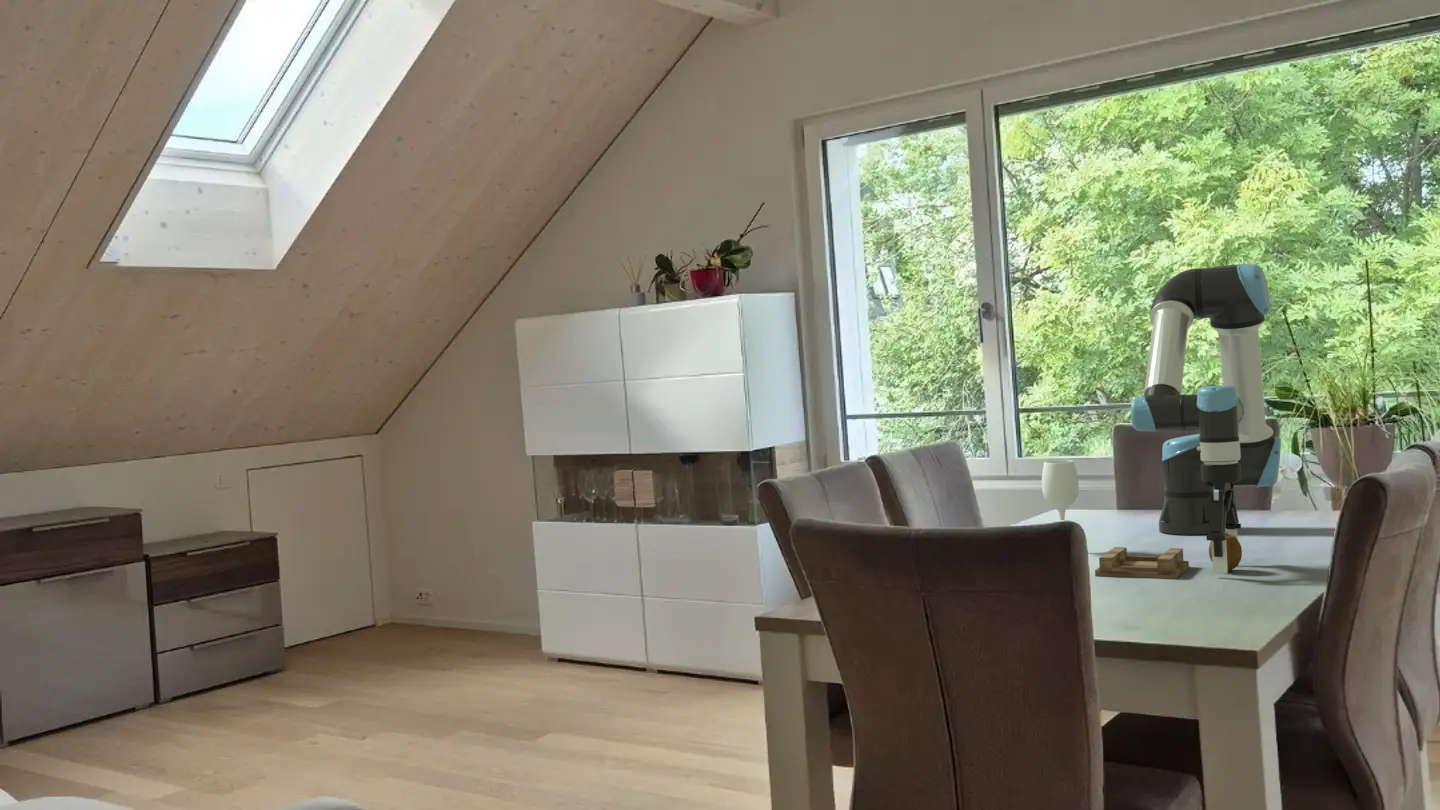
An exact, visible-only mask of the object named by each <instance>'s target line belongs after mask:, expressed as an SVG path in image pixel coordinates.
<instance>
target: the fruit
mask: <svg viewBox="0 0 1440 810" xmlns="http://www.w3.org/2000/svg"><path fill="white" fill-rule="evenodd" d="M1238 539H1239V538H1238ZM1238 539H1237V538H1236V537H1235V536H1233V535H1228V534H1227V533H1226V532H1225V539H1224V540H1226V547H1227V565H1228V573H1229V572H1231V571H1232V570H1235V569H1236V568H1237V567H1239V565H1240V563H1241V561H1242V556H1243V550H1242V545H1241V543H1240V541H1239V540H1238ZM1208 556H1209V559H1210V561H1211V562H1212V550H1211V542H1209V547H1208Z"/></svg>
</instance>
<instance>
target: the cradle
mask: <svg viewBox="0 0 1440 810" xmlns="http://www.w3.org/2000/svg"><path fill="white" fill-rule="evenodd" d="M1127 551H1128V549H1127V547H1123V546H1122V547H1121V546H1119V547H1116V546H1114V547H1112V548H1111V549H1110V550H1109V551H1107V552H1105V553H1104V554H1103V555H1101V556H1099V558H1098V559H1099V561H1098V562H1099V563H1098V564H1099V567H1097V568H1096V569H1094V573H1095V574H1094V575H1095V577H1113V578H1115V577H1117V578H1118V577H1119V578H1122V577H1123V578H1143V577H1144V578H1147V579H1149V578H1150V579H1178V578H1179V576H1180V575H1182V574H1183V572H1185V571H1186V570H1187V569H1188V568H1189V567H1190V563H1189V560H1184V548H1180V547H1179V548H1177V547H1175V548H1173V547H1171V548H1168V550H1166V551H1165V552H1164V553H1163V554H1161V555H1160V556H1155V555H1154V556H1153V555H1151V556H1148V555H1147V556H1146V555H1128V552H1127Z"/></svg>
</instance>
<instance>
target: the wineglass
mask: <svg viewBox="0 0 1440 810" xmlns="http://www.w3.org/2000/svg"><path fill="white" fill-rule="evenodd" d="M1079 483H1080V482H1079V476H1078V470H1077V468H1076V464H1075V461H1074V460H1071V459H1055V460H1046V461H1044V462H1043V467H1042V473H1041V490H1042V495H1043V497H1044V500H1045V501H1046V502H1047V503H1048V504H1049V506H1051V507H1053V508H1055V509H1056V510H1057V511H1058V514H1059V521H1060V520H1065V516H1066V510H1067V509H1068V508H1069V507H1071V506H1072V505H1073V504H1074V503H1075V502H1076V500H1077V498H1078V496H1079V490H1080V489H1079V488H1080V487H1079V485H1080V484H1079Z"/></svg>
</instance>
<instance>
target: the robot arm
mask: <svg viewBox="0 0 1440 810" xmlns="http://www.w3.org/2000/svg"><path fill="white" fill-rule="evenodd" d="M1271 307H1272V304H1271V297H1270V291H1269V285H1268V282H1267V278H1266V274H1265V272H1264V270H1263V268H1262V266H1260V265H1259V264H1255V263H1252V264H1250V263H1248V264H1242V263H1236V264H1229V265H1221V266H1211V267H1203V268H1202V267H1201V268H1198V267H1196V268H1190V269H1186V270H1183V271H1181V272H1179V273H1177V274H1176V275H1174V276H1173V277H1171V278H1170V279H1168V280H1167V282H1165V284H1163V286H1161V288H1160V289H1159V290H1158V292H1157V294H1156V295H1155V296H1154V298H1153V301H1152V303H1151V306H1150V312H1149V321H1150V324H1152V331H1151V338H1150V346H1149V354H1148V360H1147V368H1146V374H1145V375H1146V376H1145V383H1144V391H1143V395H1140V396H1135V397H1133V398H1132V400H1131V403H1130V420H1131V425H1132V427H1133V429H1134V430H1136V431H1139V432H1154V433H1155V432H1166V431H1167V432H1169V431H1170V432H1171V431H1186V430H1187V431H1197V430H1198V433H1197V434H1196V433H1195V434H1189V435H1183V436H1179V437H1174V438H1170V439H1167V440H1166V441H1164V442H1163V444H1162V448H1161V449H1162V458H1161V461H1162V472H1163V487H1164V489H1163V490H1164V501H1163V505H1162V509H1161V513H1160V516H1159V520H1158V530H1159V532H1160V533H1163V534H1168V535H1182V536H1185V535H1186V536H1188V535H1189V536H1190V535H1195V536H1196V535H1197V536H1199V535H1206V541H1210V543H1211V550H1212V561H1211V563H1212V565H1211V566H1212V567H1211V568H1212V573H1213V574H1228V573H1229V572H1228V565H1227V547H1226V540H1224V539H1225V532H1226V533H1227V534H1228V535H1233V536H1235V537H1236V538H1237V539H1239V538H1238V537H1239V536H1238V529H1242V523H1240V521H1239V517H1238V510H1237V502H1236V495H1235V488H1255V489H1256V488H1259V487H1272V486H1274V485H1276V483H1277V482H1278V479H1279V472H1280V471H1279V469H1280V461H1281V460H1280V459H1281V448H1282V438H1281V437H1278V436H1275V435H1274V429H1273V428H1272V427H1270V426H1269V425H1268V424H1267V420H1266V412H1265V411H1266V409H1265V398H1264V396H1265V395H1264V387H1263V373H1262V372H1263V371H1262V362H1261V361H1262V360H1261V349H1260V337H1259V336H1260V335H1259V328H1260V327H1261V326H1262V325H1263V324H1264V323H1265V322H1266V320H1265V316H1267V315H1268V314H1270V313H1271V310H1272V308H1271ZM1196 319H1209V323H1210V327H1211V329H1213V330H1215V331H1216V332H1217V334H1218V345H1219V356H1220V357H1219V358H1220V366H1221V378H1222V385H1207V386H1201V387H1199V388H1198V389H1197V393H1193V394H1182V387H1183V377H1184V369H1185V359H1186V351H1187V342H1188V333H1189V328H1190V327H1191V326H1192V325H1193V323H1194V321H1195V320H1196Z"/></svg>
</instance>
